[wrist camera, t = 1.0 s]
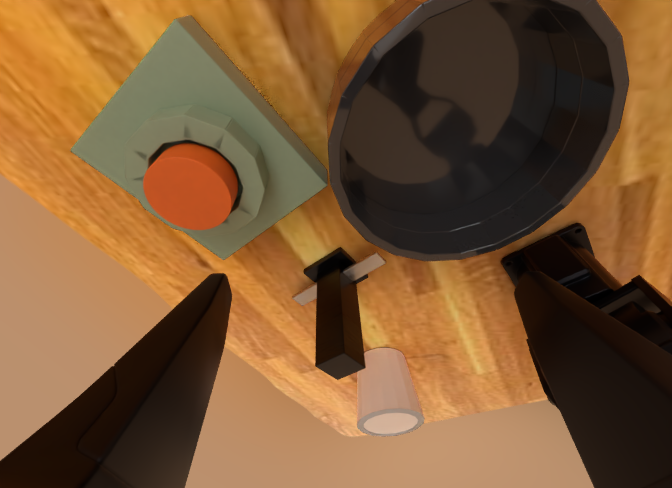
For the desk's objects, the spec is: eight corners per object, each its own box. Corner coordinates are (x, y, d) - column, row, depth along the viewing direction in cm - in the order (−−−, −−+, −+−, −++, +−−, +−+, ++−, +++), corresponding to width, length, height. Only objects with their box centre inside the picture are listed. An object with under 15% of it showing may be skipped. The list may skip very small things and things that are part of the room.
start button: (254, 185, 18) (249, 202, 17) (205, 224, 20) (197, 242, 19) (189, 125, 16) (176, 139, 15) (140, 175, 18) (125, 191, 16)
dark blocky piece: (365, 231, 25) (381, 326, 18) (391, 260, 27) (415, 355, 20) (282, 282, 29) (270, 378, 22) (312, 304, 31) (309, 398, 24)
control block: (327, 169, 22) (328, 201, 19) (230, 242, 26) (217, 278, 22) (190, 13, 16) (159, 21, 13) (90, 136, 20) (47, 165, 17)
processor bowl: (586, 140, 21) (645, 176, 17) (400, 246, 26) (414, 291, 23) (517, -112, 14) (594, -147, 10) (278, 104, 19) (268, 136, 15)
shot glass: (402, 376, 40) (414, 438, 35) (348, 375, 39) (352, 437, 34) (417, 345, 36) (434, 410, 30) (356, 343, 35) (363, 409, 30)
